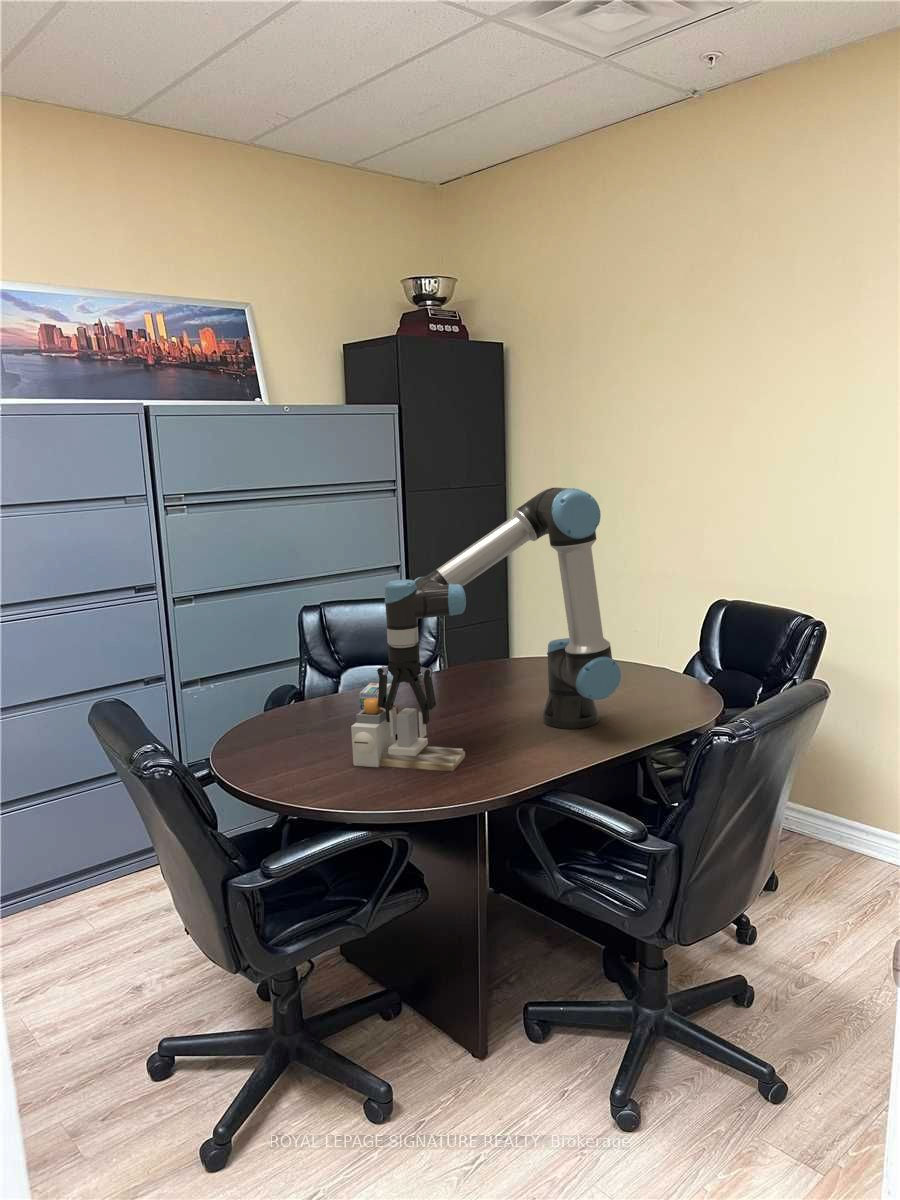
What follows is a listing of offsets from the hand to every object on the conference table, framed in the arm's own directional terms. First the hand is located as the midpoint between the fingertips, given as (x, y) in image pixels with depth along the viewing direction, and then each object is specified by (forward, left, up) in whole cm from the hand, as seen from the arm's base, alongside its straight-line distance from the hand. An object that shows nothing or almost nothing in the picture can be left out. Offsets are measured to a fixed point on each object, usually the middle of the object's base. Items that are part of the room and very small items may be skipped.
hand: (408, 735), depth 225 cm
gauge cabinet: (+9, 0, -7) cm, 11 cm away
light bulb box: (+19, -26, -7) cm, 33 cm away
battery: (+12, -15, -7) cm, 21 cm away
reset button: (+9, 0, +5) cm, 11 cm away
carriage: (0, 0, -4) cm, 4 cm away
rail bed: (-3, 0, -7) cm, 7 cm away
